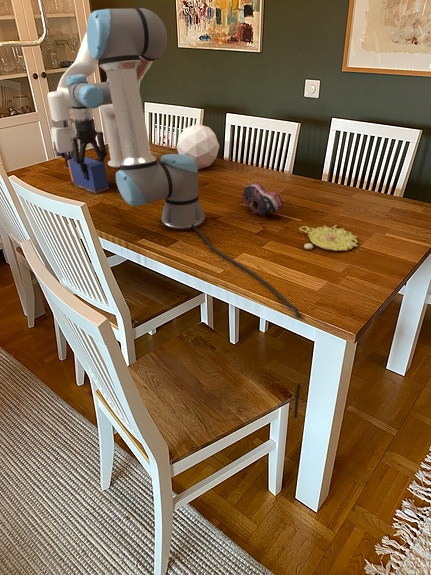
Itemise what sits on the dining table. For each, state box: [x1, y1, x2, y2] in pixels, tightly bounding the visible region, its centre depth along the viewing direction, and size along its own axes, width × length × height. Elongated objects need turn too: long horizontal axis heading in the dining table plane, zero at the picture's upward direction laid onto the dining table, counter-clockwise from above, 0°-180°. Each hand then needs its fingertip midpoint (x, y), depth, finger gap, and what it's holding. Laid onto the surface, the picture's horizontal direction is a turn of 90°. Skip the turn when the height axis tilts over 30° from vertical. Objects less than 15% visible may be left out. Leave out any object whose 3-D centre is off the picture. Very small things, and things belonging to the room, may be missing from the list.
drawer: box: [63, 160, 74, 183], centre depth 190 cm, size 22×5×9 cm, turn 45°
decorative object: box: [299, 224, 359, 252], centre depth 141 cm, size 21×2×20 cm
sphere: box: [175, 123, 221, 170], centre depth 203 cm, size 19×20×20 cm
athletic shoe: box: [238, 182, 284, 217], centre depth 160 cm, size 11×22×12 cm
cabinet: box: [69, 156, 110, 195], centre depth 186 cm, size 17×7×11 cm, turn 45°
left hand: (70, 167), depth 194 cm, fingers closed
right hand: (94, 176), depth 184 cm, fingers closed on cabinet, 7 cm apart
